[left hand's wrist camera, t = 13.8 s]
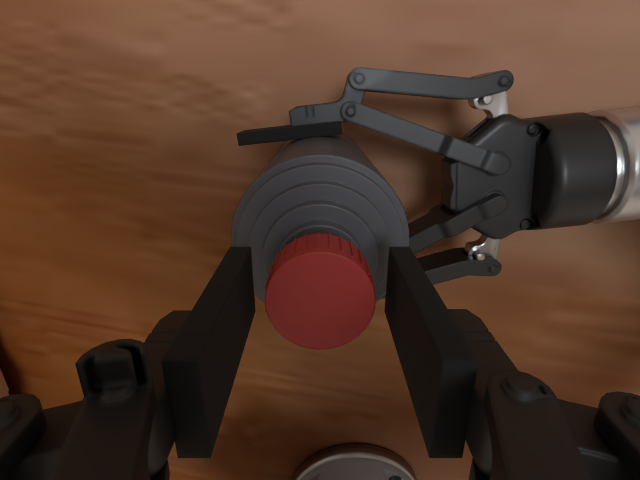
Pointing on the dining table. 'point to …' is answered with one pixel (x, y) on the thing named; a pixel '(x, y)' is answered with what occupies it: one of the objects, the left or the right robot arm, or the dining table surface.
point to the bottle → (320, 206)
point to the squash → (3, 386)
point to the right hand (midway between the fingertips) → (253, 204)
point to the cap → (320, 292)
